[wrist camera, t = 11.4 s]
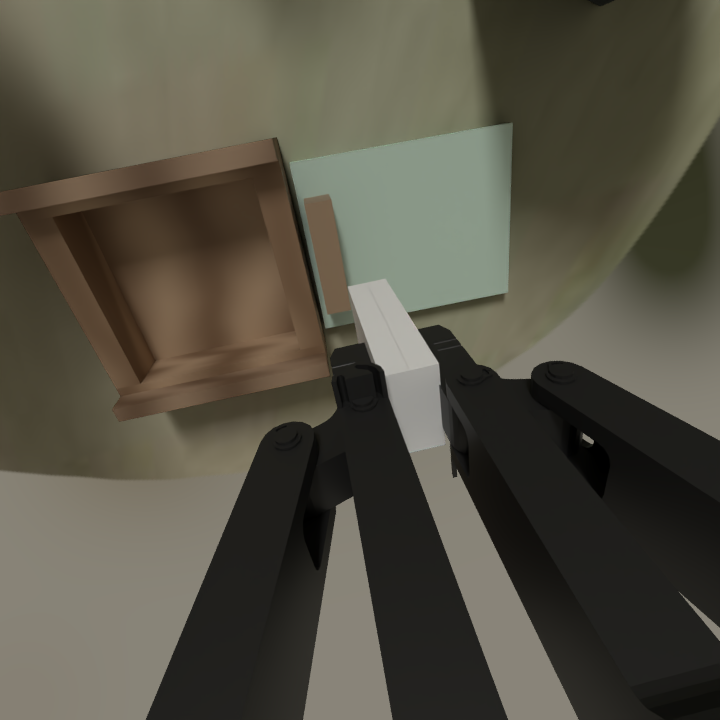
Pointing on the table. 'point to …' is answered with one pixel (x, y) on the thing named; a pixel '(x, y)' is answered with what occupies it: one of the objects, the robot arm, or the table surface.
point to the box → (183, 275)
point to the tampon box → (601, 2)
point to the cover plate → (410, 219)
